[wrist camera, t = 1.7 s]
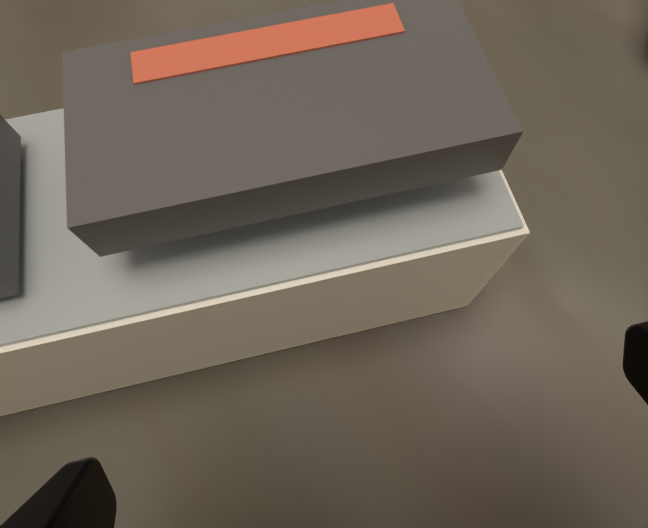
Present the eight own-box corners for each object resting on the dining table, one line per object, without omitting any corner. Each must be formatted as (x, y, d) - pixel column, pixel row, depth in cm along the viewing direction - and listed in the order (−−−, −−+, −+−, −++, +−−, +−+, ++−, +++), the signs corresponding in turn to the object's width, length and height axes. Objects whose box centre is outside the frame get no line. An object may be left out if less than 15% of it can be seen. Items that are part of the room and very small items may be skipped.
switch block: (467, 306, 23) (532, 230, 15) (-169, 456, 21) (-449, 452, 13) (411, 153, 26) (441, 30, 19) (-140, 269, 24) (-349, 183, 17)
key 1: (501, 169, 14) (524, 129, 13) (100, 256, 13) (65, 226, 12) (437, 28, 17) (449, -23, 15) (90, 95, 16) (60, 49, 14)
